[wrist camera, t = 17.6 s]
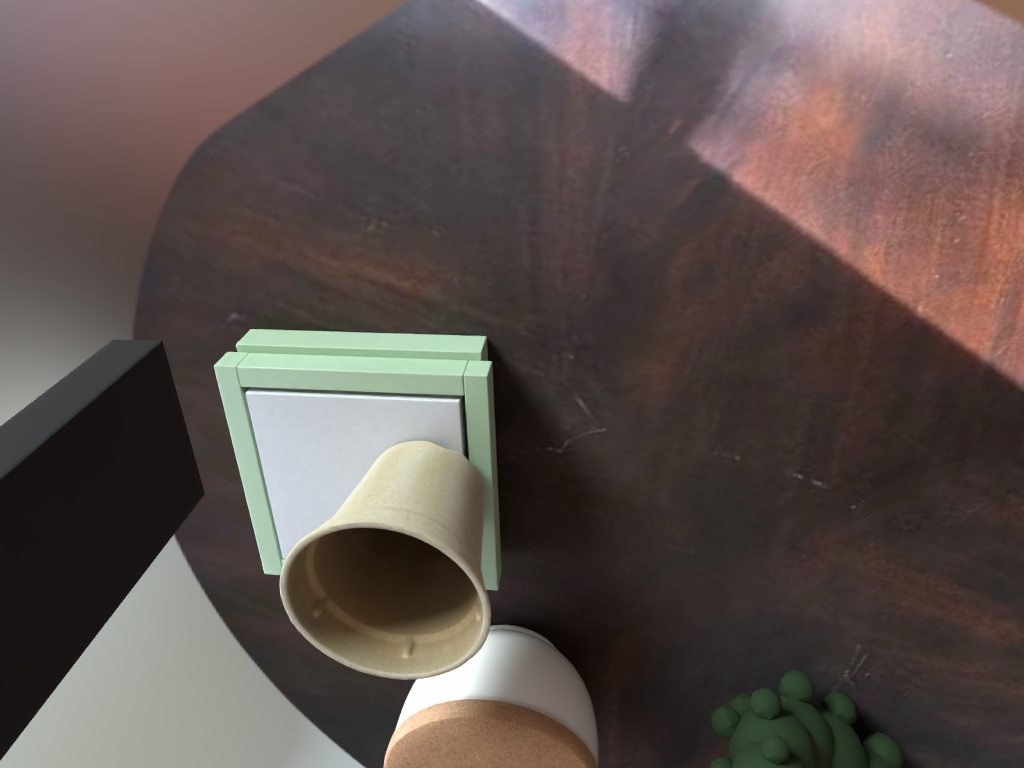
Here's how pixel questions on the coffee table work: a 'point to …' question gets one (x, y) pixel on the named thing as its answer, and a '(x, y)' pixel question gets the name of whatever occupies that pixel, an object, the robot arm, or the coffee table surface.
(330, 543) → the flower pot
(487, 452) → the scale
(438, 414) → the pan
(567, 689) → the lidded bowl
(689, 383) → the coffee table surface
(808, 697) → the toy figurine
